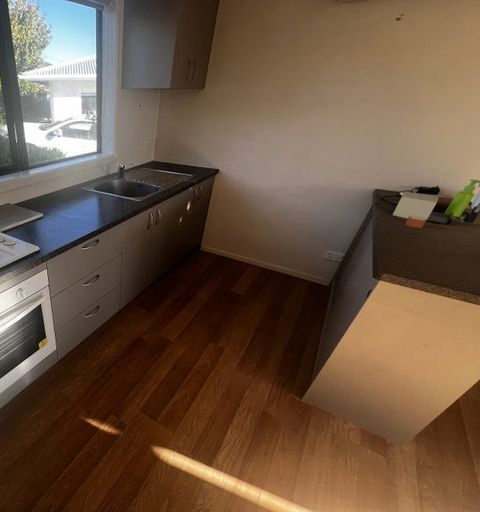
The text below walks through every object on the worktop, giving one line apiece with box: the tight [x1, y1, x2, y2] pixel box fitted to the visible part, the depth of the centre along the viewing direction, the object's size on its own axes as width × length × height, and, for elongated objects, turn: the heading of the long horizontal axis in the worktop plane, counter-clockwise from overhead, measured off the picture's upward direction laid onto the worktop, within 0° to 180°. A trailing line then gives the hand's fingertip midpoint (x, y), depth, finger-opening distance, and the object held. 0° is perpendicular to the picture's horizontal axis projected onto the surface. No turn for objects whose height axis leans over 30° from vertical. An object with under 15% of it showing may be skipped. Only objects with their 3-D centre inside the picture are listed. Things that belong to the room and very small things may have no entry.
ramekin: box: [404, 216, 428, 229], centre depth 146 cm, size 6×6×4 cm
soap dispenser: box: [443, 179, 480, 219], centre depth 153 cm, size 6×7×20 cm
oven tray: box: [426, 211, 465, 225], centre depth 151 cm, size 16×14×3 cm
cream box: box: [392, 191, 440, 219], centre depth 156 cm, size 13×14×11 cm
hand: (467, 221), depth 144 cm, fingers closed
